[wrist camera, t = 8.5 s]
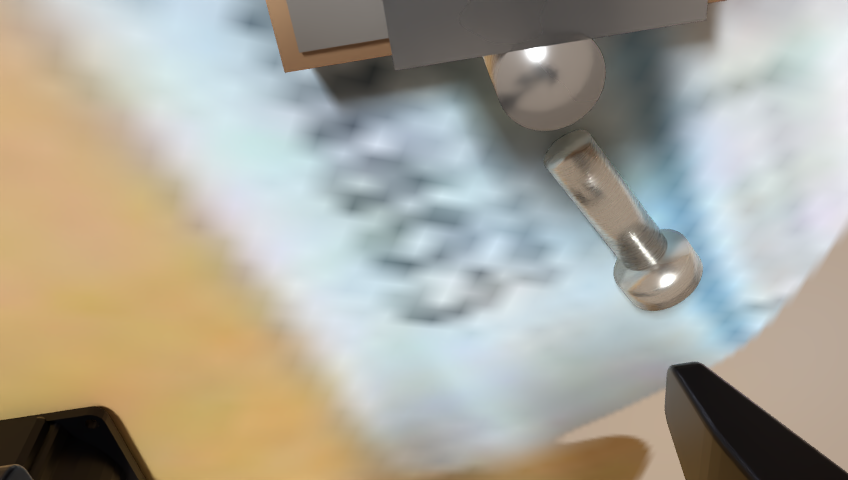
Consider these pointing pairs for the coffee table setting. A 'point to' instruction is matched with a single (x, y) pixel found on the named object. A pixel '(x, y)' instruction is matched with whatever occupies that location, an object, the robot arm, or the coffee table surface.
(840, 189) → the coffee table surface
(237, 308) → the coffee table surface
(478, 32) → the block
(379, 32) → the plinth
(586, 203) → the loose bolt
